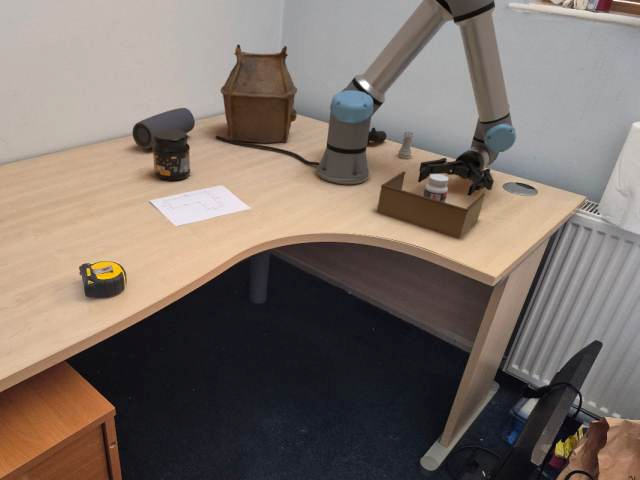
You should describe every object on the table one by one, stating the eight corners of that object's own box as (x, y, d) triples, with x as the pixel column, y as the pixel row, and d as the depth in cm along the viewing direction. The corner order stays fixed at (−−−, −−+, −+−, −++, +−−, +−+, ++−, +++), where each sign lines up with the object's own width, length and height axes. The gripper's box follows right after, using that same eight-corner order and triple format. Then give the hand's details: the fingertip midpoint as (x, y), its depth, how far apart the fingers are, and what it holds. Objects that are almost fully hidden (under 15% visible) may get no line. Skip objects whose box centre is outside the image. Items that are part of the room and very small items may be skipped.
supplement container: (147, 174, 152) (143, 133, 145) (174, 166, 158) (172, 126, 152) (169, 184, 146) (167, 143, 139) (198, 175, 152) (196, 135, 146)
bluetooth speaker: (175, 132, 186) (173, 103, 181) (196, 137, 182) (195, 108, 177) (132, 149, 170) (129, 118, 164) (154, 155, 166) (152, 123, 160)
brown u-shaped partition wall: (398, 196, 145) (403, 171, 141) (477, 220, 134) (485, 193, 130) (376, 211, 136) (381, 184, 132) (459, 238, 125) (467, 210, 121)
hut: (296, 146, 178) (304, 52, 161) (218, 143, 178) (217, 48, 161) (293, 127, 197) (300, 40, 180) (222, 124, 196) (222, 37, 180)
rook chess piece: (396, 157, 172) (400, 133, 168) (398, 153, 176) (403, 130, 171) (409, 159, 171) (414, 135, 167) (411, 155, 174) (416, 132, 170)
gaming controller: (339, 142, 192) (334, 134, 182) (342, 126, 191) (338, 118, 182) (384, 149, 187) (381, 141, 177) (388, 133, 186) (386, 125, 177)
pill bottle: (442, 219, 134) (452, 182, 128) (420, 216, 135) (428, 180, 129) (440, 209, 139) (449, 174, 133) (418, 207, 139) (426, 172, 134)
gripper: (511, 186, 147) (488, 210, 133) (427, 165, 159) (398, 184, 145) (519, 161, 143) (496, 182, 128) (433, 141, 155) (403, 158, 141)
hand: (444, 183), depth 137 cm, fingers open, 13 cm apart
